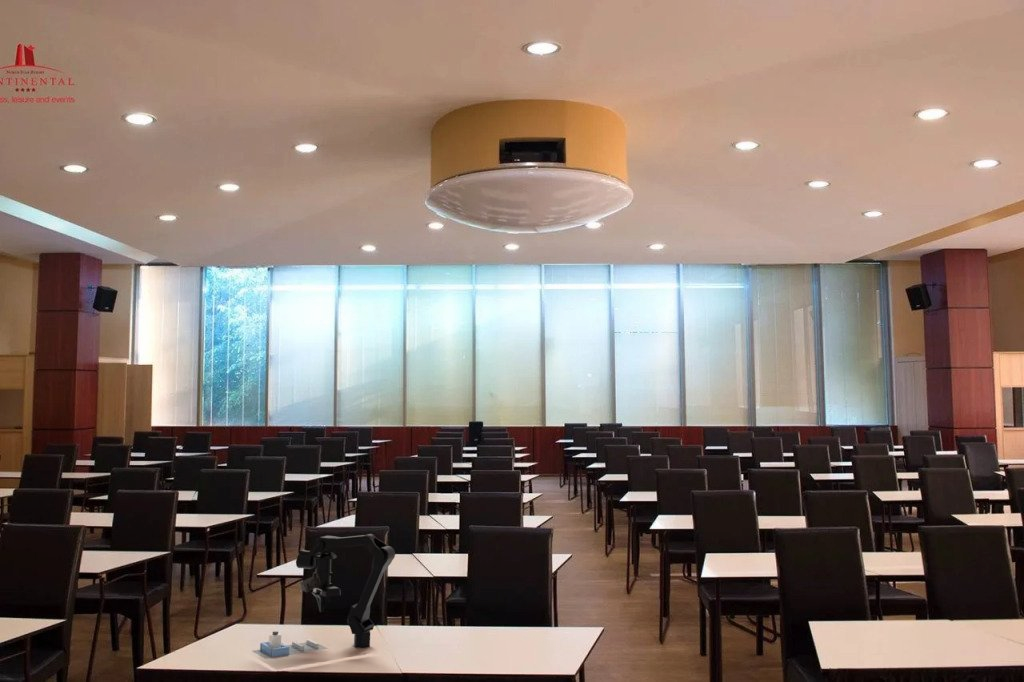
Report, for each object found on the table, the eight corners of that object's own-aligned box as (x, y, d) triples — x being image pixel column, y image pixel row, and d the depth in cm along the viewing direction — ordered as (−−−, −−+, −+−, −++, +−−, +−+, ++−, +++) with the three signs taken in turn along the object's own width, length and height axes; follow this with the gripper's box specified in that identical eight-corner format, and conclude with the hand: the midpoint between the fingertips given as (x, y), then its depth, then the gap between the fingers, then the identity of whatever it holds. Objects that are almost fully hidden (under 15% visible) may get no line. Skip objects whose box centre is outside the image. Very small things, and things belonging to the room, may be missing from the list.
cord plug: (280, 655, 305) (281, 632, 306) (272, 656, 303) (273, 633, 304) (276, 653, 308) (277, 630, 309) (268, 654, 306) (269, 631, 307)
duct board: (327, 650, 312) (327, 641, 313) (265, 661, 297) (265, 651, 297) (312, 643, 321) (313, 634, 322) (251, 653, 306) (252, 643, 307)
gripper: (292, 568, 326) (290, 609, 324) (314, 575, 312) (312, 619, 310) (319, 565, 333) (317, 606, 331) (342, 572, 319) (340, 615, 317)
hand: (321, 611), depth 322 cm, fingers closed
